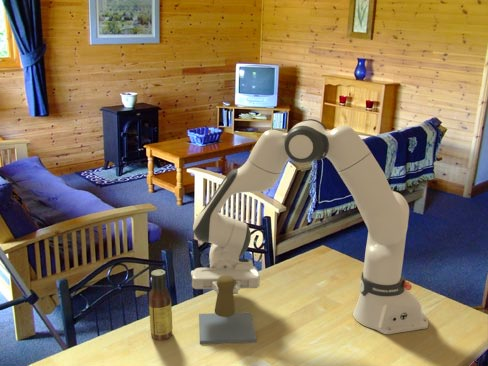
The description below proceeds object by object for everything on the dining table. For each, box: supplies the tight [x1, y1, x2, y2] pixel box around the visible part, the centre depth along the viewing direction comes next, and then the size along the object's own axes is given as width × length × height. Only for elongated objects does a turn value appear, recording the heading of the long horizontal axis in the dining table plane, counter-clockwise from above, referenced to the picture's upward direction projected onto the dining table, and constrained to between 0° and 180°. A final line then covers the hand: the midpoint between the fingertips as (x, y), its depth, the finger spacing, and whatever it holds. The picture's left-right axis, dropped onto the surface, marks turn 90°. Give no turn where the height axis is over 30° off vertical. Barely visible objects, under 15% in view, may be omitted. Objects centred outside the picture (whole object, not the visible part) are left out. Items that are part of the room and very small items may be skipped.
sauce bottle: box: [148, 269, 173, 341], centre depth 150 cm, size 6×6×20 cm
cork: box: [214, 275, 236, 317], centre depth 153 cm, size 6×6×11 cm
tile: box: [198, 312, 257, 345], centre depth 157 cm, size 16×14×1 cm
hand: (227, 291), depth 152 cm, fingers closed on cork, 3 cm apart
